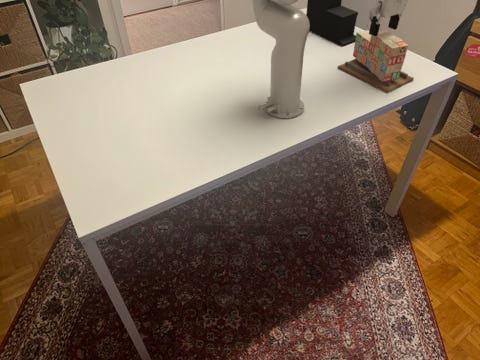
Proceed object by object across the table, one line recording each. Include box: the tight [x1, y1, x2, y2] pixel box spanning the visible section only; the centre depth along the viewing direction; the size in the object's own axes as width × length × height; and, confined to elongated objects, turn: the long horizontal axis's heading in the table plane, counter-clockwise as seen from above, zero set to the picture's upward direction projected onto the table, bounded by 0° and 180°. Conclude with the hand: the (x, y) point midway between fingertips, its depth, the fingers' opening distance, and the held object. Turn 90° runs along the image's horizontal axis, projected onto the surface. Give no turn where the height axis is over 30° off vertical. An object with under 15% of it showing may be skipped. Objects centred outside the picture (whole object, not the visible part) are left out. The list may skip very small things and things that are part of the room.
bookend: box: [305, 0, 359, 48], centre depth 153 cm, size 23×11×24 cm, turn 33°
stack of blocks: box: [352, 29, 409, 82], centre depth 129 cm, size 21×6×12 cm, turn 16°
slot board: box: [337, 58, 415, 94], centre depth 134 cm, size 14×23×2 cm, turn 35°
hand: (382, 31), depth 124 cm, fingers open, 9 cm apart
